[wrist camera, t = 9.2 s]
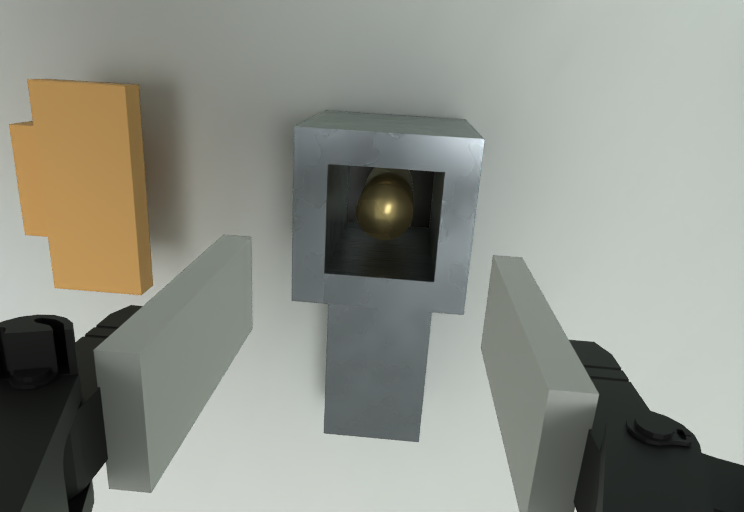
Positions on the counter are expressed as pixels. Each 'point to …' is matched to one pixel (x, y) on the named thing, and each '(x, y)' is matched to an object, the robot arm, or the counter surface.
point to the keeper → (86, 183)
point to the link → (381, 261)
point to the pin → (386, 203)
